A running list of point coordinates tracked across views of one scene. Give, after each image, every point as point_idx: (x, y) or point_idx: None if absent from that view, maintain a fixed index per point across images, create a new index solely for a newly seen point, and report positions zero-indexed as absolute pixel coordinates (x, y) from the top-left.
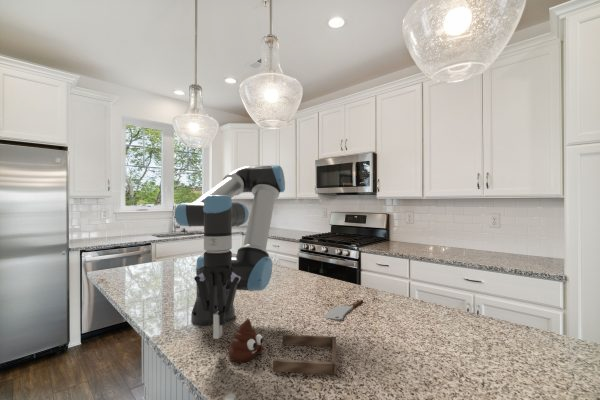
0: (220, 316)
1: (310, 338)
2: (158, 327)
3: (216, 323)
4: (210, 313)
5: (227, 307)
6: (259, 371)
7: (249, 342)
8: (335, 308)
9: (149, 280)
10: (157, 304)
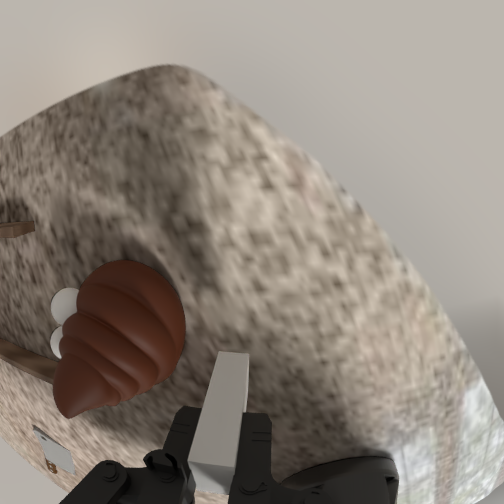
0: (186, 452)
1: (10, 355)
2: (468, 416)
3: (216, 413)
4: (268, 476)
5: (100, 486)
6: (58, 214)
7: (61, 302)
8: (69, 467)
9: (466, 499)
10: (463, 470)
